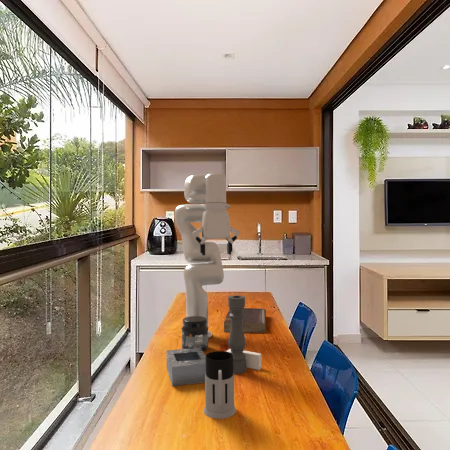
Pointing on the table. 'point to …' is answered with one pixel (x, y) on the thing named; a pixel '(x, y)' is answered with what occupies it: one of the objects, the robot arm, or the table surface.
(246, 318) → the hardback book
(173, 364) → the gray hollow block
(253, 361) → the angle bracket
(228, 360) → the glass holder
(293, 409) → the table surface
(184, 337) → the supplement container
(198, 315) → the robot arm
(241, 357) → the candle holder
